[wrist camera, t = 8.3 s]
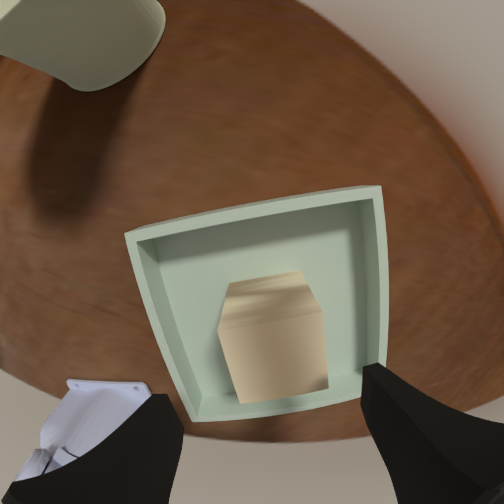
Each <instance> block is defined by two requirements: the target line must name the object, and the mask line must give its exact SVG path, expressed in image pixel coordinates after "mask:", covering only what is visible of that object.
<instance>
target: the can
mask: <svg viewBox="0 0 504 504" xmlns="http://www.w3.org/2000/svg"><path fill="white" fill-rule="evenodd" d="M165 22H166V19H165V13H164V10H163V8H162V6H161V5H160V4H159V3H158V2H157V1H156V0H0V55H3V56H6V57H9V58H11V59H14V60H16V61H19V62H21V63H24V64H26V65H29V66H31V67H33V68H36V69H38V70H40V71H43V72H45V73H47V74H49V75H51V76H53V77H55V78H58V79H60V80H62V81H63V82H65V83H67V84H68V85H69V86H70V87H72V88H73V89H76V90H79V91H96V90H100V89H103V88H107V87H109V86H111V85H113V84H115V83H117V82H119V81H121V80H122V79H124V78H125V77H127V76H128V75H130V74H131V73H132V72H134V71H135V70H136V69H137V68H138V67H139V66H141V65H142V64H143V63H144V62H145V61H146V59H147V58H148V57H149V56H150V55H151V54H152V52H153V51H154V49H155V48H156V46H157V45H158V43H159V41H160V39H161V37H162V35H163V32H164V29H165Z"/></svg>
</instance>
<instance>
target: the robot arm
mask: <svg viewBox="0 0 504 504" xmlns="http://www.w3.org/2000/svg"><path fill="white" fill-rule="evenodd" d="M67 385H68V387H69V388H70V390H69V391H68V392H67V394H66V395H65V396H64V397H63V399H62V400H61V401H60V403H59V404H58V405H57V407H56V408H55V409H54V410H53V412H52V413H51V414H50V415H49V417H48V418H47V420H46V421H45V422H44V424H43V426H42V429H41V433H40V445H41V449H35V450H34V451H33V453H32V454H31V455H30V456H29V458H28V459H27V461H26V462H25V463H24V465H23V466H22V468H21V470H20V471H19V472H18V474H17V475H16V477H15V479H14V480H13V482H12V484H11V485H10V487H9V489H8V490H7V492H6V494H5V495H4V497H3V499H2V500H1V501H2V504H168V503H169V497H170V492H171V488H172V485H173V481H174V477H175V474H176V470H177V466H178V462H179V458H180V454H181V450H182V443H183V433H184V427H183V425H182V423H181V421H180V419H179V417H178V416H177V414H176V412H175V410H174V408H173V405H172V403H171V401H170V399H169V397H168V395H167V394H151V392H150V390H149V388H148V386H147V385H146V384H145V383H143V382H108V381H89V380H76V379H68V380H67ZM136 387H137V388H136ZM360 405H361V408H362V411H363V414H364V418H365V421H366V424H367V426H368V429H369V431H370V433H371V435H372V437H373V439H374V441H375V443H376V445H377V448H378V450H379V452H380V454H381V456H382V458H383V460H384V462H385V465H386V467H387V469H388V472H389V474H390V477H391V480H392V483H393V487H394V490H395V493H396V497H397V501H398V504H504V424H503V423H498V422H492V421H488V420H484V419H481V418H478V417H474V416H471V415H468V414H465V413H463V412H460V411H458V410H455V409H453V408H451V407H448V406H446V405H444V404H442V403H440V402H438V401H436V400H435V399H433V398H431V397H429V396H427V395H426V394H424V393H422V392H421V391H419V390H418V389H416V388H414V387H413V386H411V385H410V384H408V383H407V382H405V381H404V380H403V379H401V378H400V377H398V376H397V375H395V374H394V373H393V372H391V371H390V370H388V369H387V368H386V367H384V366H383V365H381V364H380V363H379V362H377V363H374V364H370V365H367V366H363V373H362V390H361V403H360Z"/></svg>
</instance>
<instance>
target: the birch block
mask: <svg viewBox="0 0 504 504" xmlns="http://www.w3.org/2000/svg"><path fill="white" fill-rule="evenodd" d="M217 332H218V335H219V339H220V342H221V345H222V349H223V352H224V355H225V359H226V362H227V365H228V368H229V372H230V375H231V378H232V381H233V384H234V387H235V390H236V393H237V396H238V399H239V402H240V404H244V403H252V402H260V401H267V400H274V399H280V398H286V397H291V396H297V395H302V394H307V393H312V392H316V391H321V390H325V389H329V385H328V370H327V356H326V344H325V333H324V322H323V313H322V310H321V308H320V306H319V304H318V302H317V300H316V299H315V297H314V295H313V293H312V291H311V289H310V287H309V285H308V284H307V282H306V280H305V278H304V276H303V274H302V273H301V271H300V270H296V271H291V272H286V273H281V274H275V275H270V276H265V277H259V278H254V279H249V280H243V281H238V282H232V283H229V286H228V290H227V294H226V298H225V302H224V306H223V310H222V314H221V318H220V322H219V325H218V329H217Z"/></svg>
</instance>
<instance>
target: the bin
mask: <svg viewBox="0 0 504 504" xmlns="http://www.w3.org/2000/svg"><path fill="white" fill-rule="evenodd" d="M124 235H125V239H126V243H127V247H128V251H129V255H130V258H131V262H132V266H133V269H134V273H135V276H136V280H137V283H138V286H139V290H140V293H141V296H142V299H143V302H144V306H145V309H146V312H147V315H148V317H149V320H150V323H151V326H152V329H153V332H154V334H155V337H156V340H157V342H158V345H159V348H160V350H161V353H162V355H163V358H164V360H165V363H166V365H167V368H168V370H169V373H170V375H171V377H172V380H173V382H174V384H175V386H176V389H177V391H178V393H179V395H180V398H181V400H182V402H183V404H184V406H185V408H186V410H187V412H188V414H189V416H190V419H191V421H192V422H207V421H226V420H238V419H249V418H258V417H266V416H273V415H280V414H286V413H292V412H298V411H303V410H308V409H313V408H318V407H323V406H327V405H332V404H336V403H340V402H344V401H348V400H351V399H355V398H359V397H361V390H362V373H363V366H367V365H370V364H374V363H377V362H379V363H380V364H381V365H383V366H384V367H386V357H387V342H388V319H389V276H388V252H387V237H386V225H385V215H384V206H383V198H382V190H381V186H362V185H361V186H353V187H346V188H339V189H332V190H325V191H318V192H312V193H306V194H299V195H293V196H287V197H281V198H276V199H270V200H264V201H259V202H253V203H248V204H243V205H237V206H232V207H227V208H222V209H217V210H212V211H207V212H203V213H198V214H193V215H189V216H184V217H180V218H175V219H171V220H166V221H162V222H158V223H153V224H149V225H145V226H142V227H139V228H137V229H134V230H132V231H129V232H126V233H124ZM296 270H300V271H301V273H302V274H303V276H304V278H305V280H306V282H307V284H308V285H309V287H310V289H311V291H312V293H313V295H314V297H315V299H316V300H317V302H318V304H319V306H320V308H321V310H322V313H323V322H324V333H325V344H326V356H327V370H328V385H329V389H325V390H321V391H316V392H312V393H307V394H302V395H297V396H291V397H286V398H280V399H274V400H267V401H260V402H252V403H244V404H240V402H239V399H238V396H237V393H236V390H235V387H234V384H233V381H232V378H231V375H230V372H229V368H228V365H227V362H226V359H225V355H224V352H223V349H222V345H221V342H220V339H219V335H218V332H217V329H218V325H219V322H220V318H221V314H222V310H223V306H224V302H225V298H226V294H227V290H228V286H229V283H232V282H238V281H243V280H249V279H254V278H259V277H265V276H270V275H275V274H281V273H286V272H291V271H296Z"/></svg>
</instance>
